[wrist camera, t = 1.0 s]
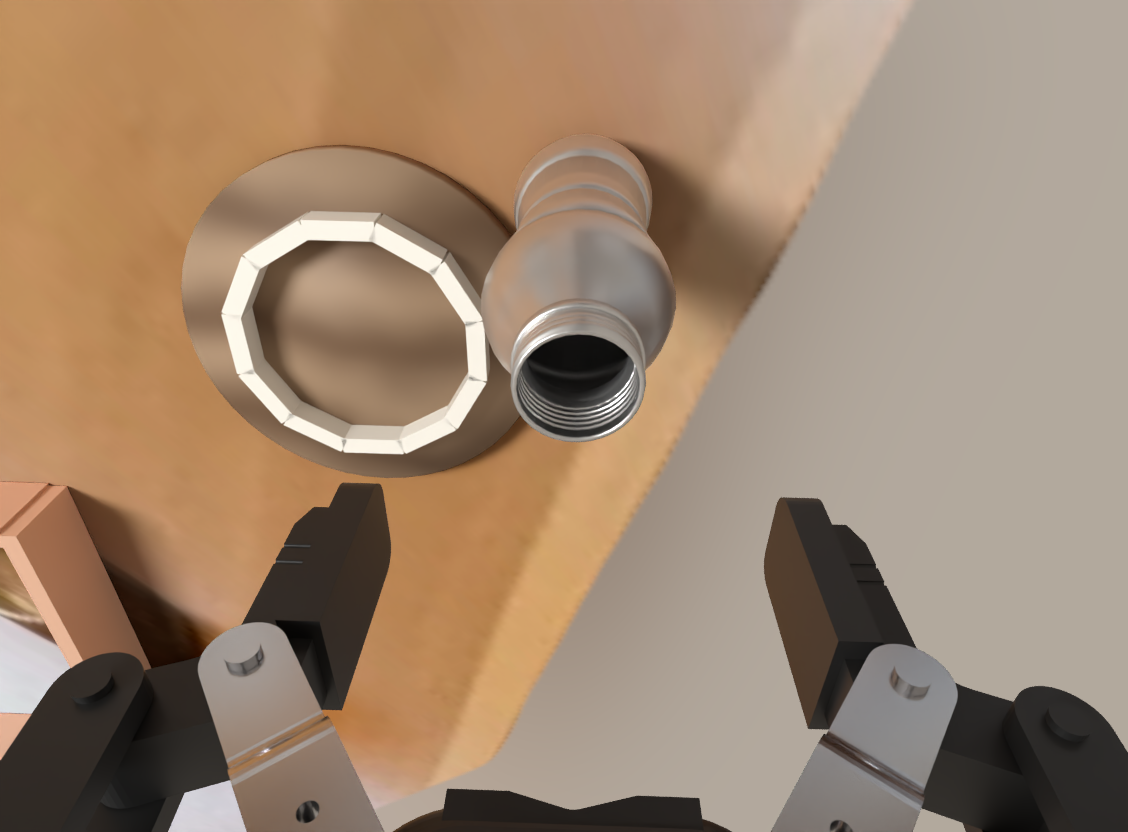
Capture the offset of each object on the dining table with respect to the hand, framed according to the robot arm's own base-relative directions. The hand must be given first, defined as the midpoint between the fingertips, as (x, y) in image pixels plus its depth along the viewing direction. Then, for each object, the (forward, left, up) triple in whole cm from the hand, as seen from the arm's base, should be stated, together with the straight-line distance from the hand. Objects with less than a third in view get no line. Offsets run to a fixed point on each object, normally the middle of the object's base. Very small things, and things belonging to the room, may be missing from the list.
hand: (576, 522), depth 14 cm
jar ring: (+8, -12, -24) cm, 28 cm away
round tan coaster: (+8, -12, -26) cm, 29 cm away
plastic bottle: (0, 0, -26) cm, 26 cm away
